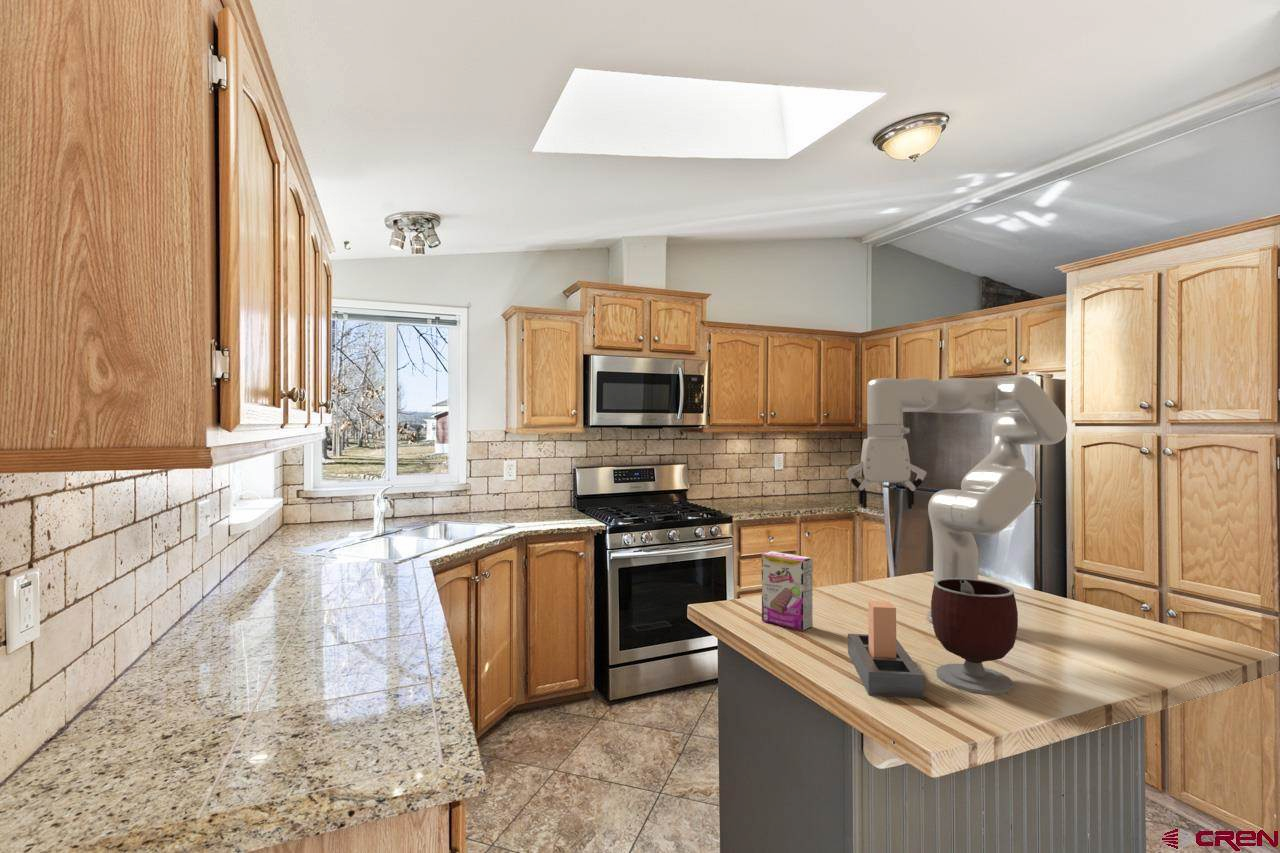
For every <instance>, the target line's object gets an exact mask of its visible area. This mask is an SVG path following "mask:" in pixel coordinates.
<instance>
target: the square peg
mask: <svg viewBox="0 0 1280 853" xmlns="http://www.w3.org/2000/svg"><path fill="white" fill-rule="evenodd" d="M867 603H868V604H867V605H868V607H867V608H868V610H867V612H868V616H867V618H868V635H869V654H870V656H871V657H885V658H896V639H897V607H896V606H895V605H894V604H893V603H892V602H891V601H881V600H879V601H875V600H874V601H872V600H868V601H867Z"/></svg>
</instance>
